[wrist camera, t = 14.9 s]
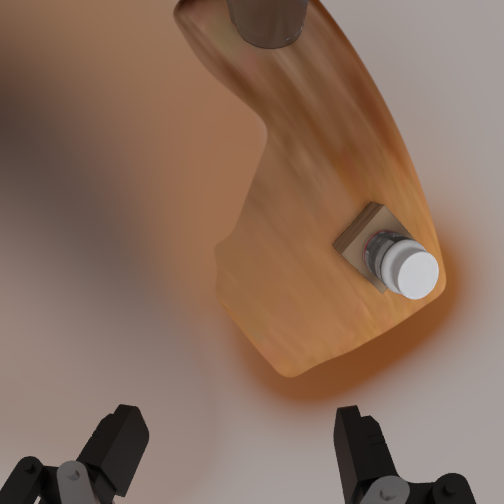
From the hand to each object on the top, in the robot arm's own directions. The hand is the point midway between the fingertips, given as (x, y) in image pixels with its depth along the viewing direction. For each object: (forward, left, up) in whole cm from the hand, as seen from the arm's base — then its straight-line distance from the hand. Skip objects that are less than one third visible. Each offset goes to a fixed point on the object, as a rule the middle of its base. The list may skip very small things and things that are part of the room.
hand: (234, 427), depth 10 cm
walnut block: (+11, +11, -30) cm, 34 cm away
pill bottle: (+11, +11, -25) cm, 30 cm away
